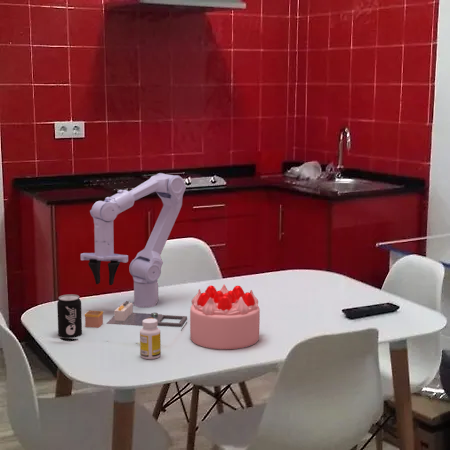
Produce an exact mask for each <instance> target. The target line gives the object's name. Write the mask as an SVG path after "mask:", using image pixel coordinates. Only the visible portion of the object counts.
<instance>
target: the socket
mask: <svg viewBox="0 0 450 450" xmlns="http://www.w3.org/2000/svg"><path fill="white" fill-rule="evenodd" d="M165 319H166V320H180V321H178V322H167V321H166V322H165V321H163V320H165ZM187 320H188V316H187V315H173V314H172V315H168V314H162V315H161V316H160V317H159V318H158V319H157V321H158V326H157V327H172V328H173V327H174V328H181V330H180V332H182V330H183V329H184V328H185V326H186V325H187V324H188V321H187Z"/></svg>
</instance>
